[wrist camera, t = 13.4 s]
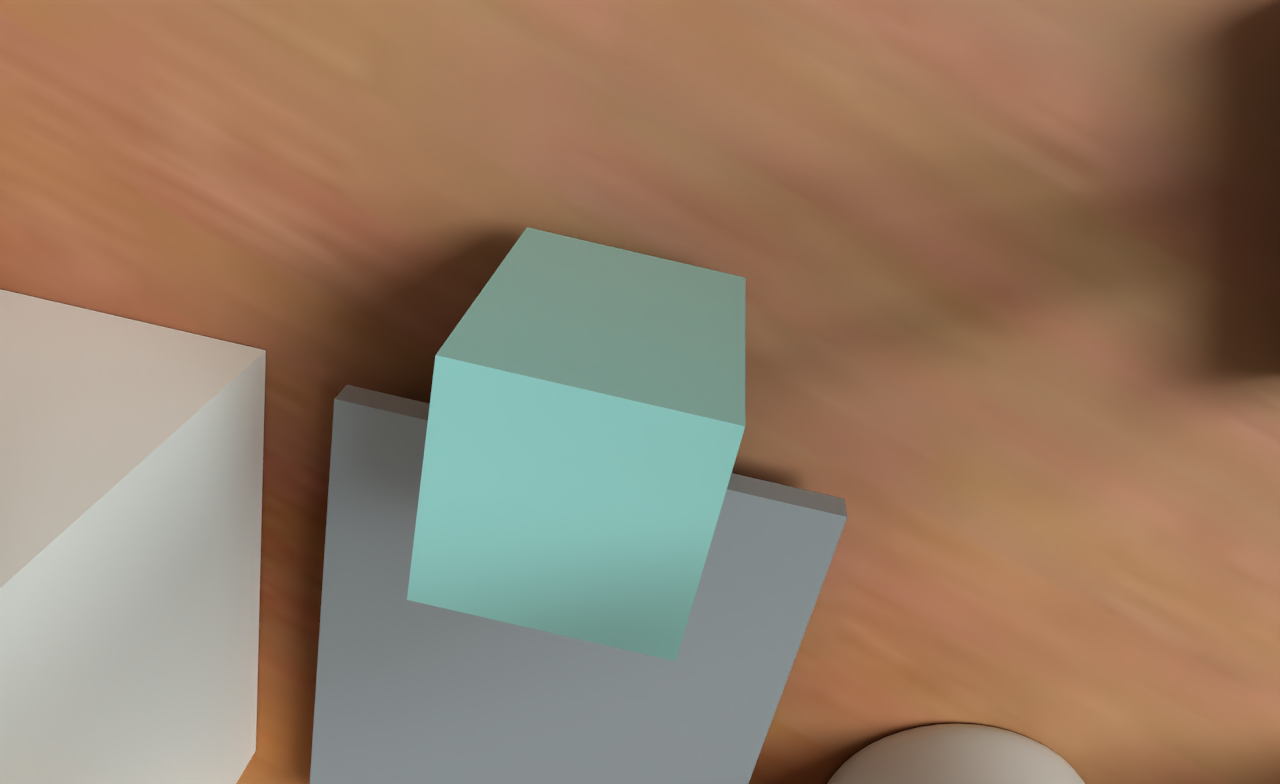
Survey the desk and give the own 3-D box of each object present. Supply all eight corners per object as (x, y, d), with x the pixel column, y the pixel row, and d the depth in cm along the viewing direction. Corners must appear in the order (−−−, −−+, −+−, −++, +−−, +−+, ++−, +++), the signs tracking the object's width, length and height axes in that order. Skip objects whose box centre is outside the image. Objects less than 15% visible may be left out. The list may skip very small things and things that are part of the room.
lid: (333, 773, 32) (206, 1035, 24) (382, 173, 22) (199, 301, 15) (700, 857, 32) (687, 1146, 24) (902, 293, 22) (980, 480, 15)
